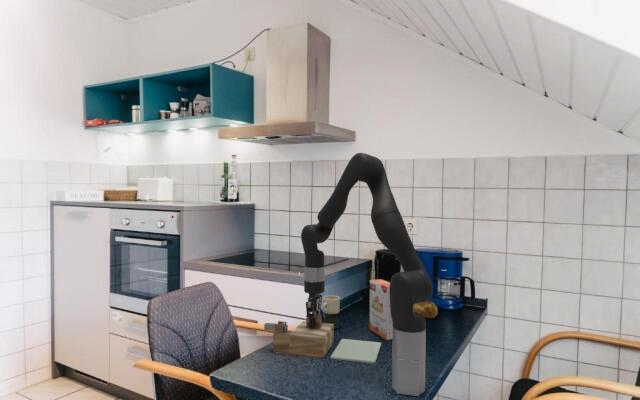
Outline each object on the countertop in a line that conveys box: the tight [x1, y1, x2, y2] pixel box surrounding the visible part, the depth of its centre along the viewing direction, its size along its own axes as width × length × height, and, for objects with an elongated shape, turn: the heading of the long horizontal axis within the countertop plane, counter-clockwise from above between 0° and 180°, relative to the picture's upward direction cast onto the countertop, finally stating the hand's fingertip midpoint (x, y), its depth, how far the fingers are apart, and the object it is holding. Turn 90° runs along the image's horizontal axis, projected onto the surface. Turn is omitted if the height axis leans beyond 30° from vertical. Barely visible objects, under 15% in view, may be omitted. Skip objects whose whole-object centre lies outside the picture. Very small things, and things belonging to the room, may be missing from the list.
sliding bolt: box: [263, 321, 289, 332], centre depth 147 cm, size 2×8×3 cm, turn 75°
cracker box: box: [369, 278, 393, 341], centre depth 166 cm, size 14×6×21 cm, turn 21°
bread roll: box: [413, 301, 439, 319], centre depth 194 cm, size 13×10×8 cm
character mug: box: [321, 294, 341, 330], centre depth 174 cm, size 11×7×13 cm, turn 142°
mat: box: [330, 338, 382, 364], centre depth 148 cm, size 19×15×1 cm
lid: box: [289, 313, 334, 340], centre depth 150 cm, size 16×12×6 cm
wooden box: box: [272, 320, 335, 359], centre depth 150 cm, size 16×18×10 cm
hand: (314, 325), depth 152 cm, fingers open, 4 cm apart
